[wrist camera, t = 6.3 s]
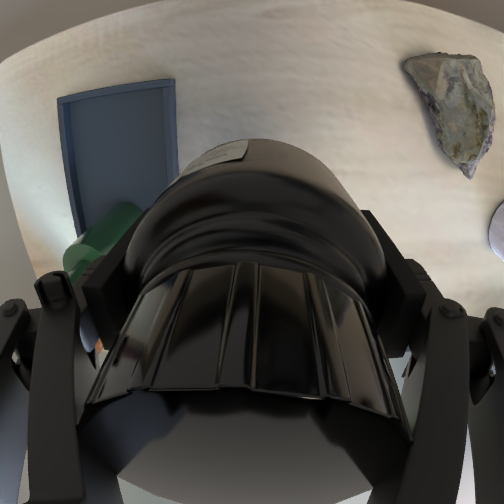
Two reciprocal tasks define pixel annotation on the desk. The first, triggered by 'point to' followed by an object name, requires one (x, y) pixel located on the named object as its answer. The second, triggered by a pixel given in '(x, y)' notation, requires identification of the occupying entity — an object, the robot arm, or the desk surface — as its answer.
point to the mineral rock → (457, 105)
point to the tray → (118, 147)
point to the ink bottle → (250, 340)
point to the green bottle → (99, 238)
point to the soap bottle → (497, 232)
